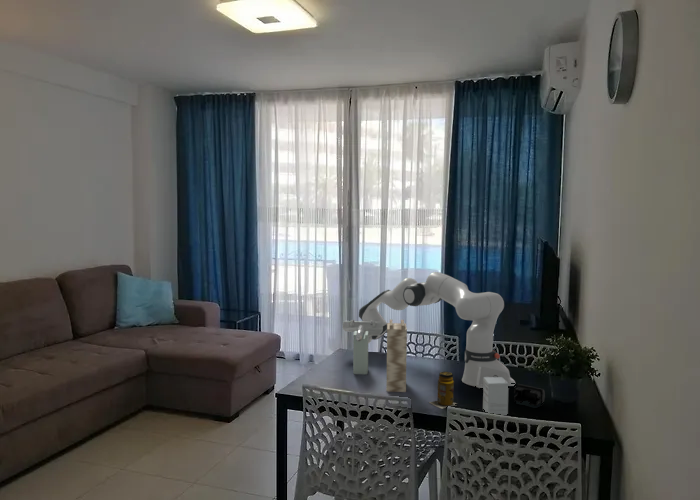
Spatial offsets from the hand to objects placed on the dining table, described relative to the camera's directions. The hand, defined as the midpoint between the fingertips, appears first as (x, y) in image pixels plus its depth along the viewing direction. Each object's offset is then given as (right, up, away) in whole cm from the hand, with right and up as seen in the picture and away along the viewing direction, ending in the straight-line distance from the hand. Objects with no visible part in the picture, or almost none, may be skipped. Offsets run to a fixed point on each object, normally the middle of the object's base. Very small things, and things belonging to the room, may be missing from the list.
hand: (362, 321), depth 257 cm
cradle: (-1, -21, -14) cm, 26 cm away
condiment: (+30, -24, -55) cm, 67 cm away
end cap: (+63, -25, -54) cm, 87 cm away
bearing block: (+13, -23, -36) cm, 44 cm away
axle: (-1, -4, -15) cm, 16 cm away
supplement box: (+47, -25, -64) cm, 84 cm away
